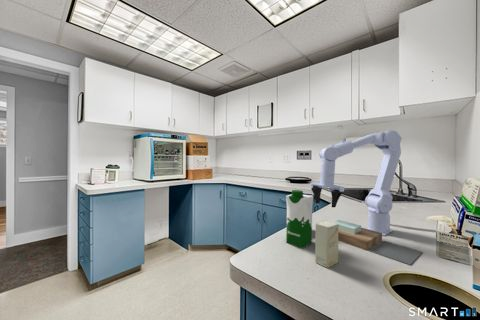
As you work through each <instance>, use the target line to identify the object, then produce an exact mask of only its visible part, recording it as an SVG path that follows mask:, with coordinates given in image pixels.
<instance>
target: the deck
mask: <svg viewBox="0 0 480 320" xmlns="http://www.w3.org/2000/svg"><path fill="white" fill-rule="evenodd" d="M338 242H342V243H344V244H346V245H351V246H353V247H356V248H359V249H362V250H366V251H369V249H370V250H371V249H372V248H374V247H375V246H377V244H378V245H379V244H380V242H381V243H382V242H383V235H382V233H380V232H376V231H373V230H369V229H365V227H361V231H359V232H357V233H355V234H353V233H349V232H346V231H343V230H339V229H338Z"/></svg>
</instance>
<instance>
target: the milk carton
mask: <svg viewBox="0 0 480 320" xmlns="http://www.w3.org/2000/svg"><path fill="white" fill-rule="evenodd" d="M285 201H286V235H285V236H286V240H285V241H286V243H287V244H290V245H293V246H295V247H298V248H302V249H305V248H306V247H307V246H309V245H310V244H312V241H313V206H314V205H313V204H314V195H310V194H304V191H303V190H298V189H294V190H291V194H288V195H285Z"/></svg>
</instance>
